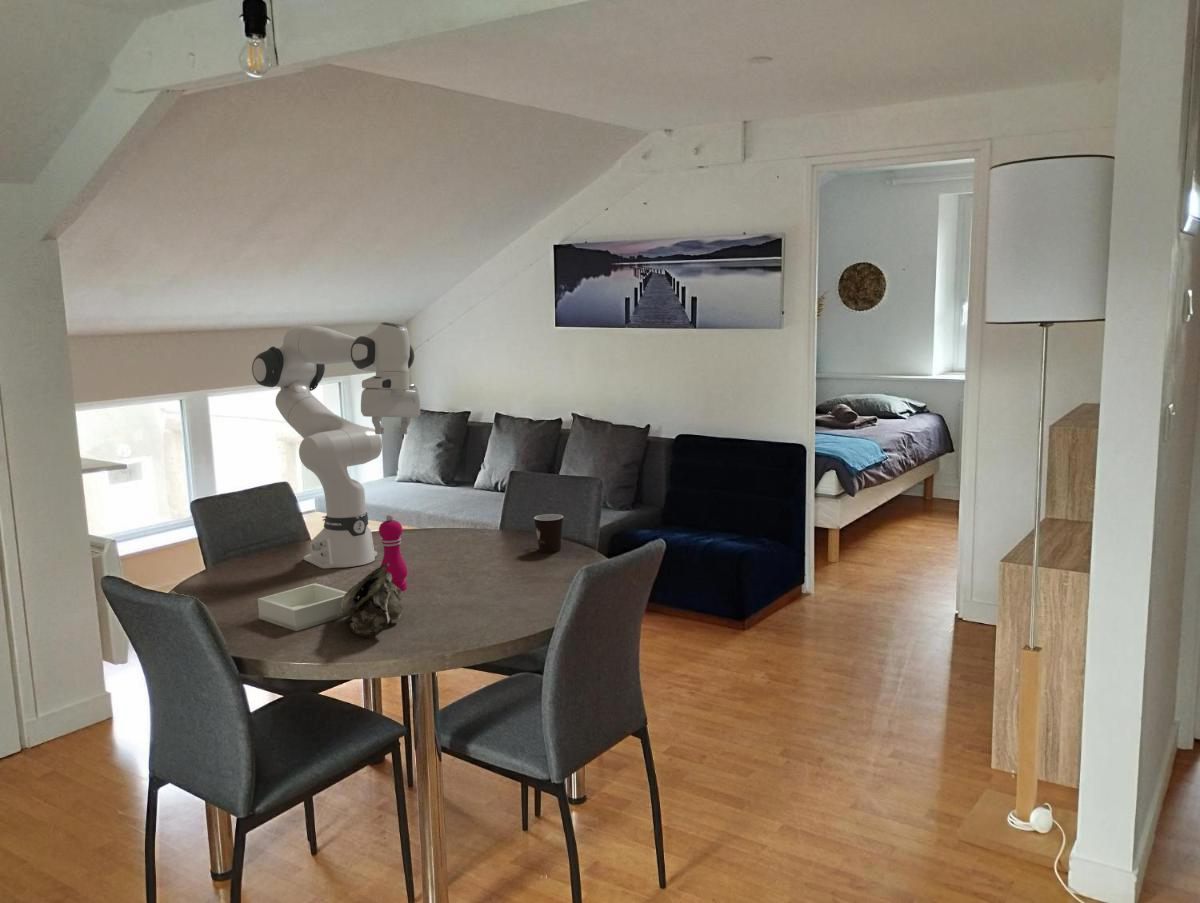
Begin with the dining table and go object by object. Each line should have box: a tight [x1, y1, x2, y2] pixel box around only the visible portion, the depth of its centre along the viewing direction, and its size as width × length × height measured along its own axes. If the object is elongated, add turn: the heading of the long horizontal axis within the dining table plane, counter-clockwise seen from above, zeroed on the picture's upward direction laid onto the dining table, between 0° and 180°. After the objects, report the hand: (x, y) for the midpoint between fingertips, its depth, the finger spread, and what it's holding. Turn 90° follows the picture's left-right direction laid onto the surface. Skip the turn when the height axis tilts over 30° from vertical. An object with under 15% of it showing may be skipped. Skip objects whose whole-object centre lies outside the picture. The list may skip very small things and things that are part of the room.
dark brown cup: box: [533, 513, 564, 554], centre depth 299 cm, size 12×9×10 cm
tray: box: [257, 582, 350, 632], centre depth 242 cm, size 16×16×5 cm
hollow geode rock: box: [337, 563, 405, 639], centre depth 232 cm, size 28×13×15 cm
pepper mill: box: [378, 513, 408, 592], centre depth 261 cm, size 7×7×20 cm
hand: (391, 434), depth 270 cm, fingers open, 8 cm apart
